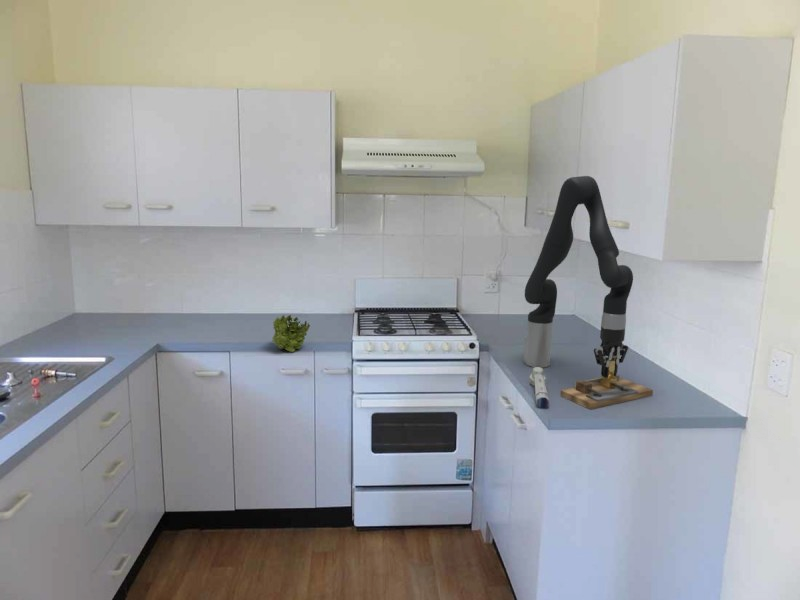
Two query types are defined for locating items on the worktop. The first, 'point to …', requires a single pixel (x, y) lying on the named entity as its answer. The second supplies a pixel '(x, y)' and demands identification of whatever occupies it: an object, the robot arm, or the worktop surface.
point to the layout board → (607, 393)
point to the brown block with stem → (585, 387)
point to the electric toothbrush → (539, 387)
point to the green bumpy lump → (289, 333)
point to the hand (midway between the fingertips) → (608, 375)
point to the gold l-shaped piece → (610, 377)
